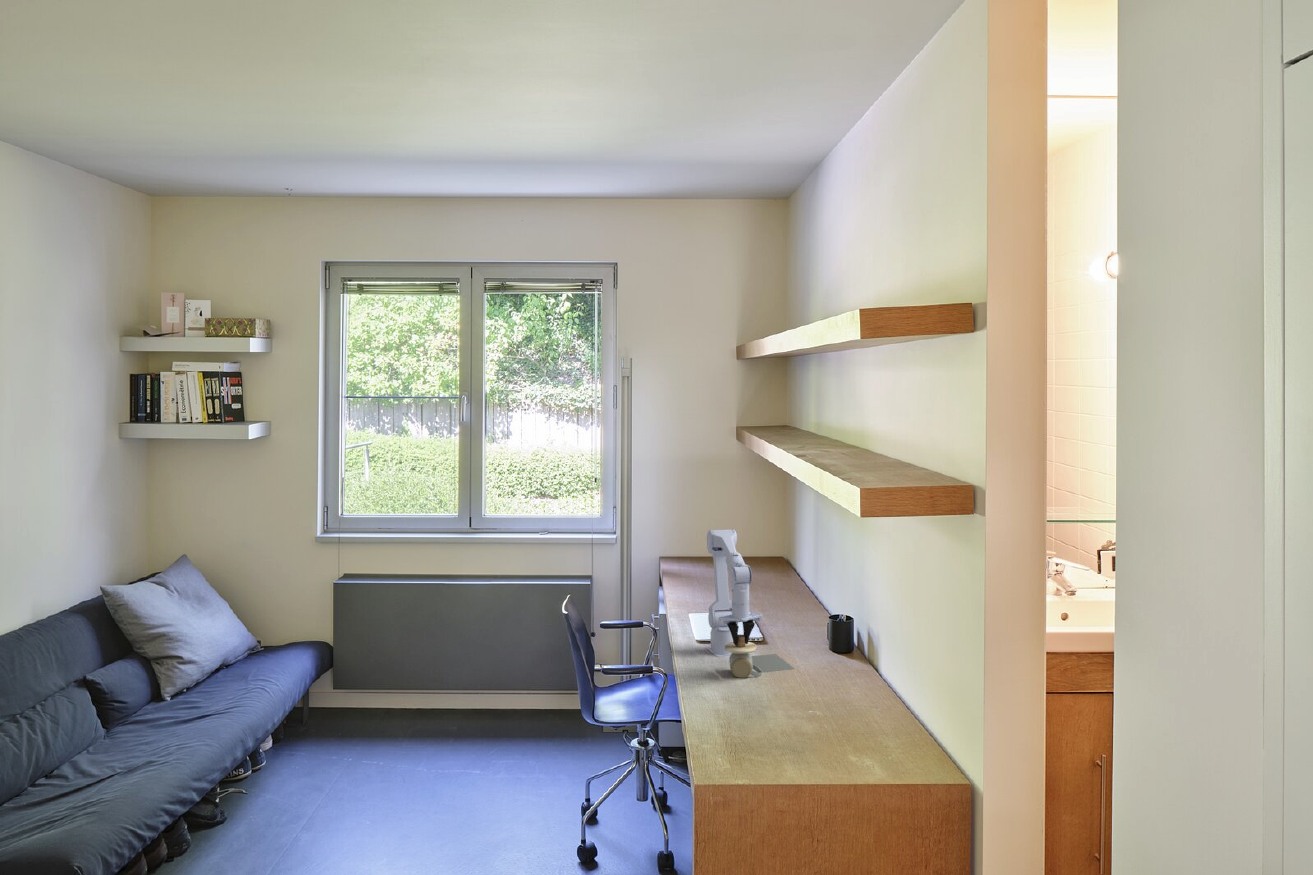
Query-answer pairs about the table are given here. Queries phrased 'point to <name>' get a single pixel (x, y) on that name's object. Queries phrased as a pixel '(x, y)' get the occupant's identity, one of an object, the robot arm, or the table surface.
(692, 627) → the table surface
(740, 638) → the lid
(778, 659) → the mat
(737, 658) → the ceramic mug
